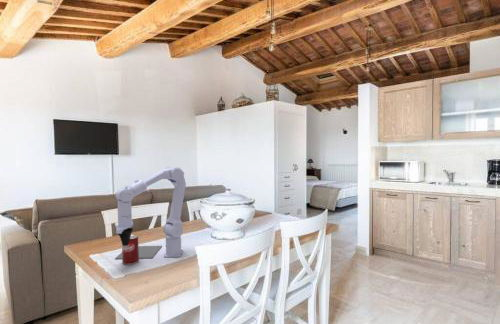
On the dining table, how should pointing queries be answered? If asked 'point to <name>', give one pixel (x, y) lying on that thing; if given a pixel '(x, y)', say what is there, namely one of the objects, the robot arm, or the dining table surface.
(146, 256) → the mat
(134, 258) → the soda can
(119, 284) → the dining table surface
